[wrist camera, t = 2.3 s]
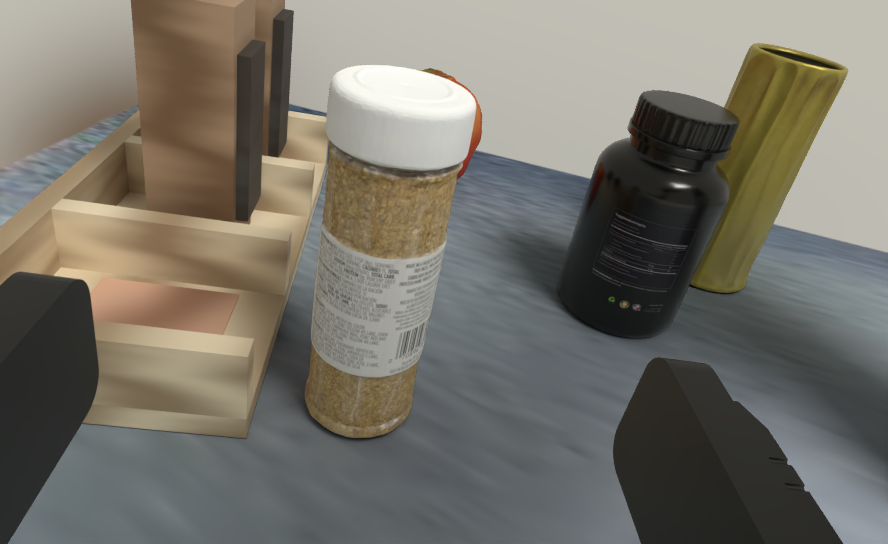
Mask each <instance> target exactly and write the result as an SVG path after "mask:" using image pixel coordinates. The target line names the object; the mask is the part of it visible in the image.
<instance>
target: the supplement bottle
mask: <svg viewBox="0 0 888 544" xmlns="http://www.w3.org/2000/svg"><path fill="white" fill-rule="evenodd" d="M739 123H740V120H739V118H738V117H737V116H736V115H735V114H733V113H732V112H731V111H729V110H727V109H725V108H723V107H721V106H719V105H717V104H714V103H712V102H709V101H706V100H703V99H700V98H697V97H693V96H689V95H685V94H680V93H676V92H669V91H661V90H657V91H655V90H652V91H647V92H643V93H642V94H641V95H640V97H639V100H638V103H637V106H636V109H635V112H634V115H633V117H632V118H631V119H630V122H629V125H628V131H629V132H630V134H631V136H630V138H626V139H622V140H619V141H617V142H614V143H612V144H611V145H609V146H608V147H607V148H606V149H605V150H604V151H603V152H602V153H601V155H600V156H599V158H598V161H597V164H596V166H595V168H594V171H593V175H592V178H591V181H590V184H589V187H588V190H587V193H586V196H585V199H584V202H583V205H582V208H581V211H580V214H579V217H578V220H577V224H576V227H575V230H574V233H573V236H572V239H571V242H570V245H569V248H568V251H567V254H566V257H565V260H564V263H563V267H562V270H561V273H560V277H559V281H558V290H559V294H560V297H561V299H562V301H563V302H564V304H565V305H566V307H567V308H568V309H569V310H570V311H571V312H572V313H573V314H574V315H575V316H576V317H578V318H579V319H580V320H582V321H583V322H585V323H587V324H588V325H590V326H592V327H594V328H596V329H598V330H601V331H603V332H606V333H609V334H613V335H617V336H621V337H628V338H644V337H650V336H654V335H656V334H659V333H661V332H662V331H664V330H665V329H666V328H667V327H668V326H669V325H670V324H671V322H672V321H673V319H674V317H675V315H676V313H677V311H678V309H679V307H680V305H681V302H682V300H683V298H684V296H685V294H686V292H687V290H688V287H689V285H690V283H691V281H692V279H693V277H694V275H695V272H696V270H697V268H698V266H699V264H700V262H701V259H702V257H703V255H704V253H705V251H706V249H707V247H708V244H709V242H710V240H711V238H712V236H713V234H714V232H715V229H716V227H717V225H718V223H719V221H720V219H721V217H722V214H723V212H724V210H725V208H726V206H727V203H728V200H729V197H730V186H729V181H728V179H727V176H726V175H725V173H724V172H723V170H722V169H721V168H720V167H719V165H718V164H717V163H718V161H721V160H724V159H726V158H727V156H728V154H729V152H730V150H731V145H730V144H731V142H732V140H733V138H734V135H735V133H736V131H737V129H738V126H739Z"/></svg>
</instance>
